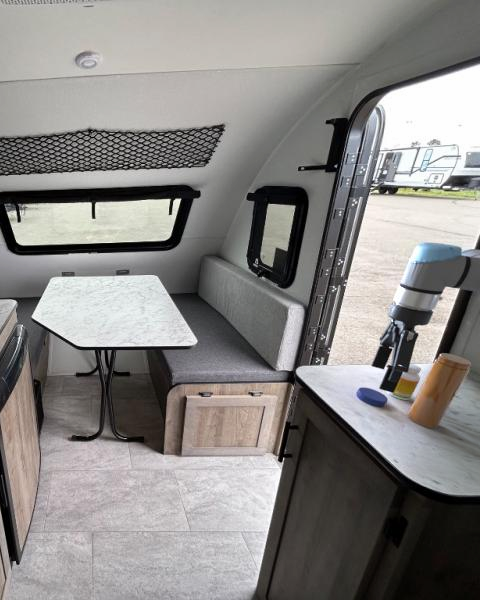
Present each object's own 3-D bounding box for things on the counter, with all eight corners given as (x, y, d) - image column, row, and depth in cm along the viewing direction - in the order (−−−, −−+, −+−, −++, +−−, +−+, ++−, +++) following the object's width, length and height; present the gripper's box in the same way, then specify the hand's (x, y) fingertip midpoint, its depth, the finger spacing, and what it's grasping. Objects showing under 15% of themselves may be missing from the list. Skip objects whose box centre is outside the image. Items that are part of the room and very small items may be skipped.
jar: (433, 419, 84) (467, 357, 77) (440, 431, 80) (477, 367, 73) (404, 410, 87) (435, 350, 80) (409, 422, 82) (442, 359, 76)
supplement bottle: (415, 400, 91) (430, 370, 88) (399, 401, 91) (414, 371, 87) (395, 388, 96) (408, 360, 93) (380, 389, 95) (393, 361, 92)
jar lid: (353, 397, 91) (355, 392, 90) (358, 389, 95) (361, 384, 94) (382, 410, 86) (385, 404, 86) (387, 401, 90) (389, 395, 90)
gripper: (451, 326, 69) (411, 407, 76) (420, 296, 88) (390, 363, 96) (404, 317, 73) (370, 395, 80) (384, 290, 92) (358, 355, 100)
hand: (381, 378), depth 88 cm, fingers open, 13 cm apart
